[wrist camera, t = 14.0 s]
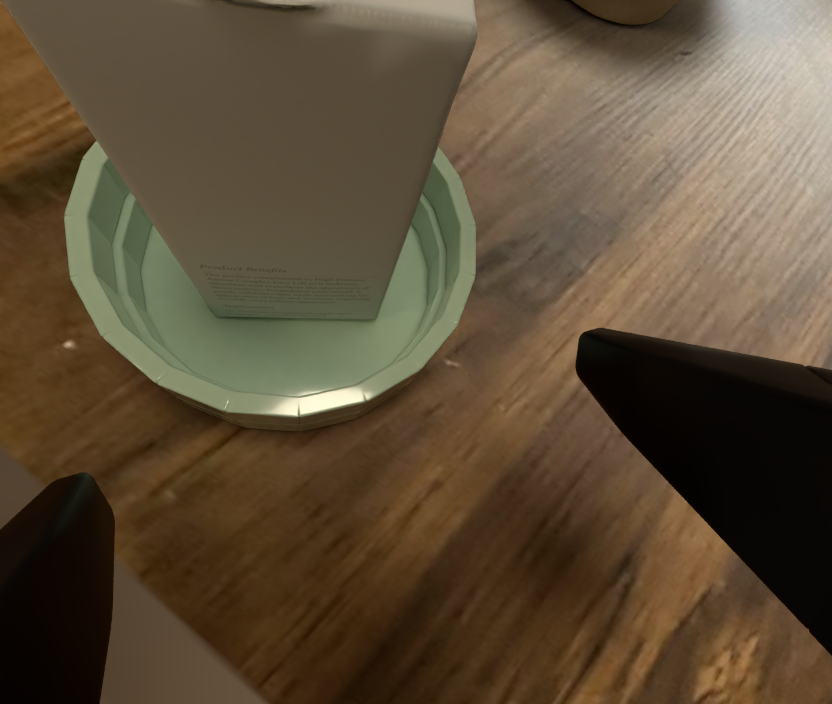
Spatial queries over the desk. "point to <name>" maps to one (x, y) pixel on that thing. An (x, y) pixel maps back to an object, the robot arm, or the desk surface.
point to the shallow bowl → (264, 336)
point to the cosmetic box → (266, 132)
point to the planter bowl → (628, 9)
